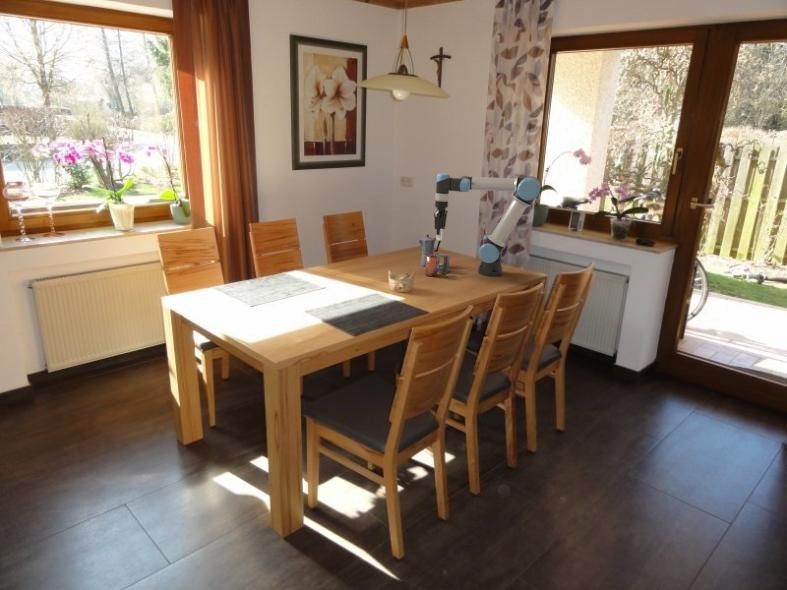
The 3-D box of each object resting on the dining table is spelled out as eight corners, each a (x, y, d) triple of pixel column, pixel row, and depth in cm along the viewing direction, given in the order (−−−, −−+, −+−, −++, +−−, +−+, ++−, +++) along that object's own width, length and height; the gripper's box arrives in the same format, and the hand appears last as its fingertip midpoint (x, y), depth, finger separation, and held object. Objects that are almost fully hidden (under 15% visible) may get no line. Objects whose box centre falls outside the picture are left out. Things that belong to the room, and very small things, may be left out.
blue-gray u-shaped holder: (450, 271, 342) (451, 254, 338) (445, 273, 337) (447, 256, 334) (436, 268, 347) (437, 252, 343) (431, 270, 342) (432, 253, 339)
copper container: (449, 269, 344) (451, 251, 340) (433, 276, 327) (434, 257, 323) (439, 267, 348) (441, 249, 344) (423, 274, 330) (424, 255, 327)
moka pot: (413, 264, 355) (415, 233, 349) (434, 262, 361) (436, 232, 355) (420, 268, 347) (422, 236, 341) (442, 266, 353) (444, 235, 347)
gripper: (441, 198, 332) (439, 237, 339) (430, 201, 320) (427, 240, 327) (453, 199, 328) (450, 238, 336) (441, 202, 316) (438, 242, 324)
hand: (439, 239), depth 331 cm, fingers closed
